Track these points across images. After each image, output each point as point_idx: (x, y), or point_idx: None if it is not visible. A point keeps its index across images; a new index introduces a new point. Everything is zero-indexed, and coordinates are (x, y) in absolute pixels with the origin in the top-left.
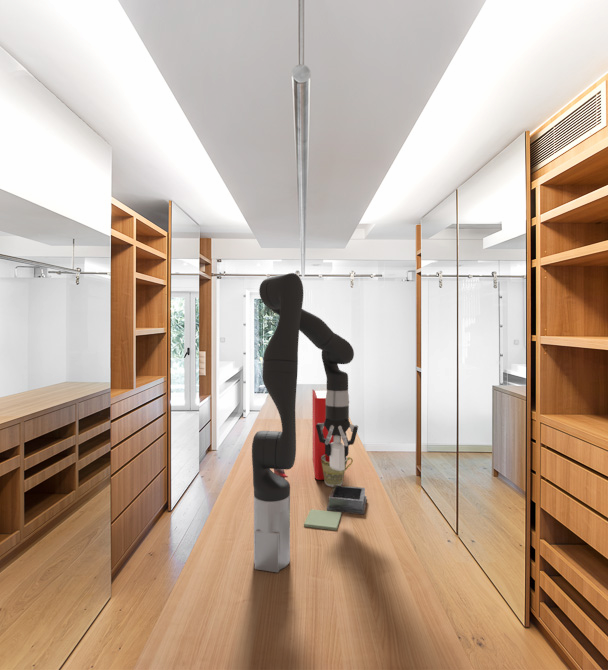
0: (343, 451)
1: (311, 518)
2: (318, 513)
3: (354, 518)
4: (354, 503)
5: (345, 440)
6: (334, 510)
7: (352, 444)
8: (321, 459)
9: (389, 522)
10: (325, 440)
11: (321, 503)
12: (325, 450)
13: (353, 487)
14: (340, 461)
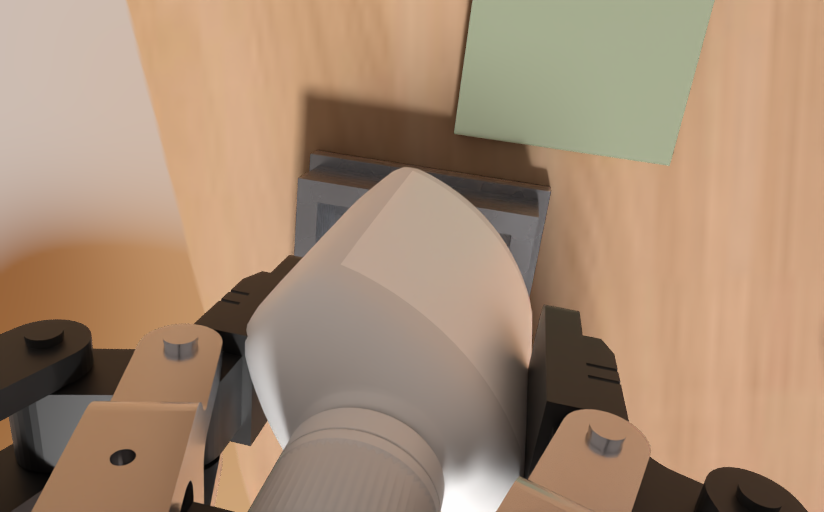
0: (285, 276)
1: (671, 19)
2: (615, 103)
3: (373, 91)
4: (357, 182)
5: (144, 391)
6: (500, 180)
7: (53, 321)
8: None
9: (170, 60)
10: (638, 508)
11: (585, 285)
12: (610, 372)
13: None
14: (375, 197)
